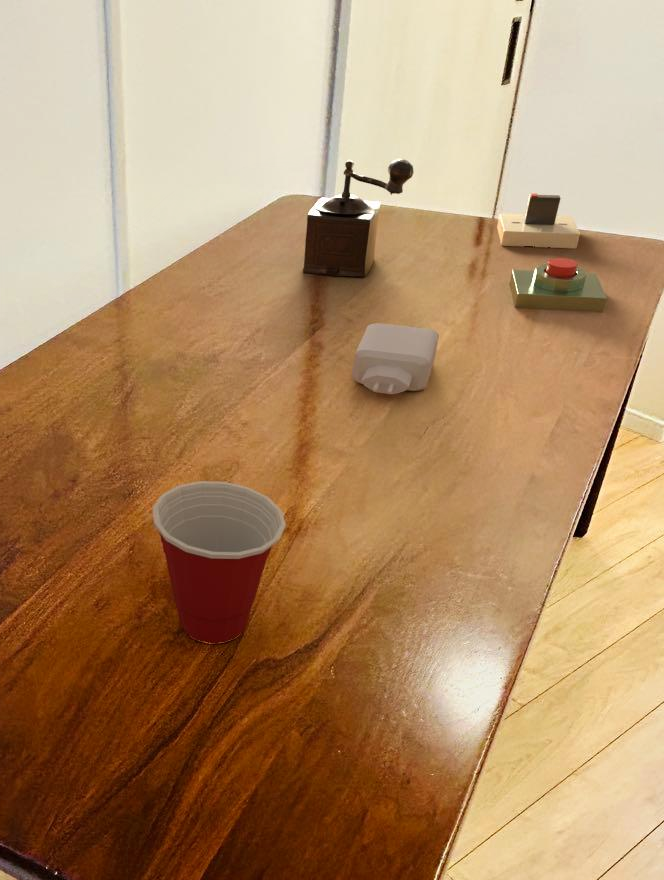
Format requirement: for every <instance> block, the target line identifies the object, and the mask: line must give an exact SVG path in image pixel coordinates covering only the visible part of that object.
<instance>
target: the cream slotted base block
mask: <svg viewBox="0 0 664 880" xmlns="http://www.w3.org/2000/svg"><path fill="white" fill-rule="evenodd" d="M524 217H525V213H524V214H523V213H499V216H498V220H497V225H496V226H497V227H496V228H497V233H498V238H499V242H500V246H501V247H524V246H533V247H532V248H548V247H550V248H553V249H574V250H576V249H577V248H578V244H579V240H580V236H581V233H580V231H579V229H578V226H577V223H576V221H575V218H574V217H573V215H558V214H557V215H556V220H555V224H554V225H544V224H525V223H524ZM534 246H535V247H534ZM550 248H549V249H550Z"/></svg>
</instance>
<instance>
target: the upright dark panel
mask: <svg viewBox="0 0 664 880" xmlns="http://www.w3.org/2000/svg"><path fill="white" fill-rule="evenodd" d="M561 199H562V198H561V195H558V194H538V193H533V192H532V193H531V192H530V194H529V196H528V199H527V204H526V209H525V213H524V214H525V217H524V223H525V224H544V225H554V224H555V220H556V215H558V210H559V207H560V204H561V203H560V202H561Z"/></svg>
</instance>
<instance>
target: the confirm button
mask: <svg viewBox="0 0 664 880" xmlns="http://www.w3.org/2000/svg"><path fill="white" fill-rule="evenodd" d="M547 264H548V265H547V269H546V273H547V274H549V275H552V276H556V277H573V276H575V273H576V269H577V267H578V265H579V264H578V262H577V261H576V260H573V259H570V258H565V257H561V258H560V257H556V258H551V259H549V260H548V262H547Z"/></svg>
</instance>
